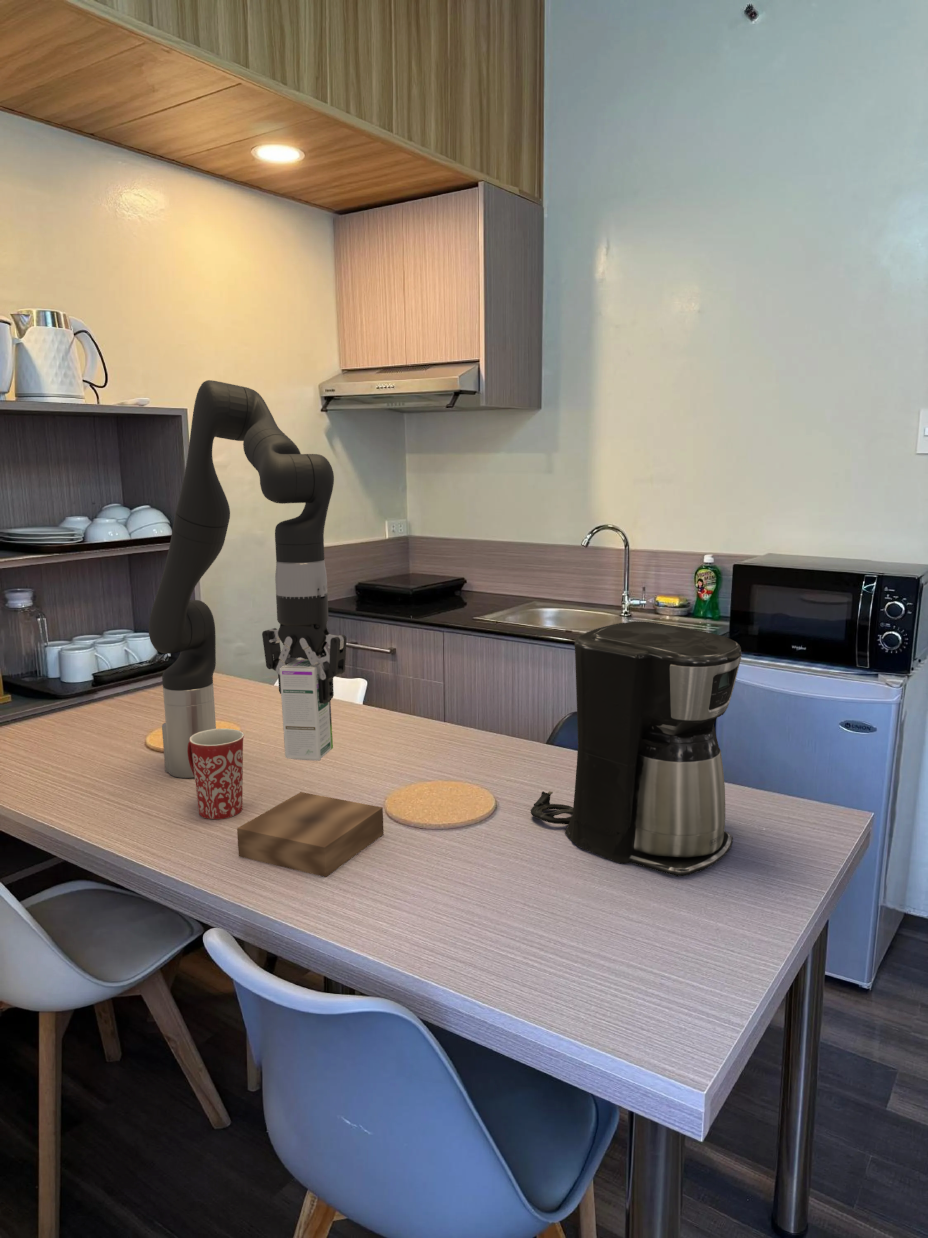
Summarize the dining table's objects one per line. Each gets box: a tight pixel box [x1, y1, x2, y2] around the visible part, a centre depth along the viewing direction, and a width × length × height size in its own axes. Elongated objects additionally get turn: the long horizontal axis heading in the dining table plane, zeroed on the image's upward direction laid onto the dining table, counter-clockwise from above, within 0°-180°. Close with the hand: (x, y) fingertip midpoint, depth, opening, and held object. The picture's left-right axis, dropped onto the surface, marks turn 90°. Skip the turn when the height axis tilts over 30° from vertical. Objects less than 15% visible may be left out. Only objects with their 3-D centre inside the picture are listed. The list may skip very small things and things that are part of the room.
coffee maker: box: [530, 620, 742, 877], centre depth 133 cm, size 23×32×34 cm
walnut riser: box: [236, 791, 385, 878], centre depth 135 cm, size 16×16×5 cm
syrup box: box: [280, 658, 334, 762], centre depth 131 cm, size 6×6×14 cm
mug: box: [187, 728, 245, 820], centre depth 149 cm, size 13×9×14 cm
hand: (306, 699), depth 131 cm, fingers closed on syrup box, 6 cm apart
